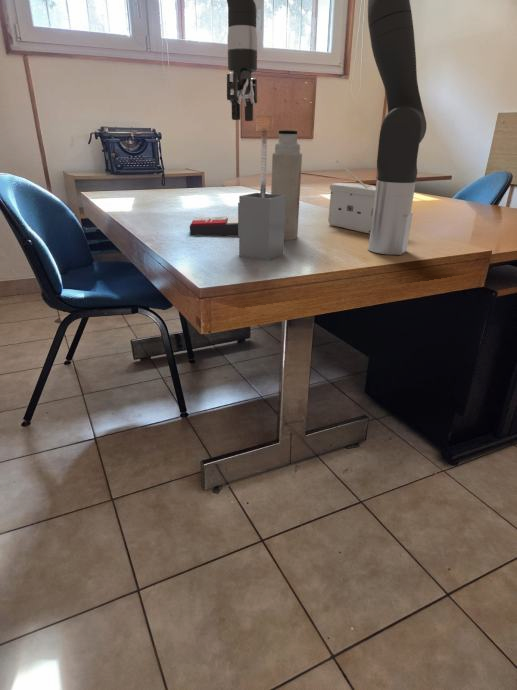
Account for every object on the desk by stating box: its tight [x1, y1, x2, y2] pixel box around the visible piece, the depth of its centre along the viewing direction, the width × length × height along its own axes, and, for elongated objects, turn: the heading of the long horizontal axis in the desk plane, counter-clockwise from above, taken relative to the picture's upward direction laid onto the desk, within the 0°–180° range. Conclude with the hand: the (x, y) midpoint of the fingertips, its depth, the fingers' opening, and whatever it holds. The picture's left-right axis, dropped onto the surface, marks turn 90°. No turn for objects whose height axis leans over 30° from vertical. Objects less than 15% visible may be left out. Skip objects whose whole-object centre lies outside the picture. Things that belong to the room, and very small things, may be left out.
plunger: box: [255, 115, 274, 198], centre depth 103 cm, size 6×6×20 cm
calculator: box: [189, 216, 238, 236], centre depth 136 cm, size 11×4×15 cm
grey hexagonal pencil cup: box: [237, 192, 286, 261], centre depth 109 cm, size 10×8×14 cm
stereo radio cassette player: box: [327, 160, 376, 235], centre depth 140 cm, size 21×8×20 cm, turn 37°
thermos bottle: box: [270, 129, 303, 241], centre depth 125 cm, size 8×8×28 cm
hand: (242, 120), depth 122 cm, fingers open, 8 cm apart
